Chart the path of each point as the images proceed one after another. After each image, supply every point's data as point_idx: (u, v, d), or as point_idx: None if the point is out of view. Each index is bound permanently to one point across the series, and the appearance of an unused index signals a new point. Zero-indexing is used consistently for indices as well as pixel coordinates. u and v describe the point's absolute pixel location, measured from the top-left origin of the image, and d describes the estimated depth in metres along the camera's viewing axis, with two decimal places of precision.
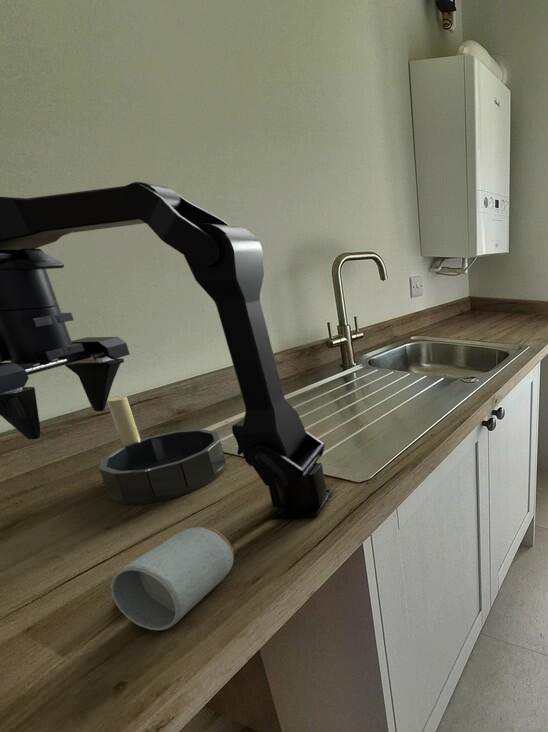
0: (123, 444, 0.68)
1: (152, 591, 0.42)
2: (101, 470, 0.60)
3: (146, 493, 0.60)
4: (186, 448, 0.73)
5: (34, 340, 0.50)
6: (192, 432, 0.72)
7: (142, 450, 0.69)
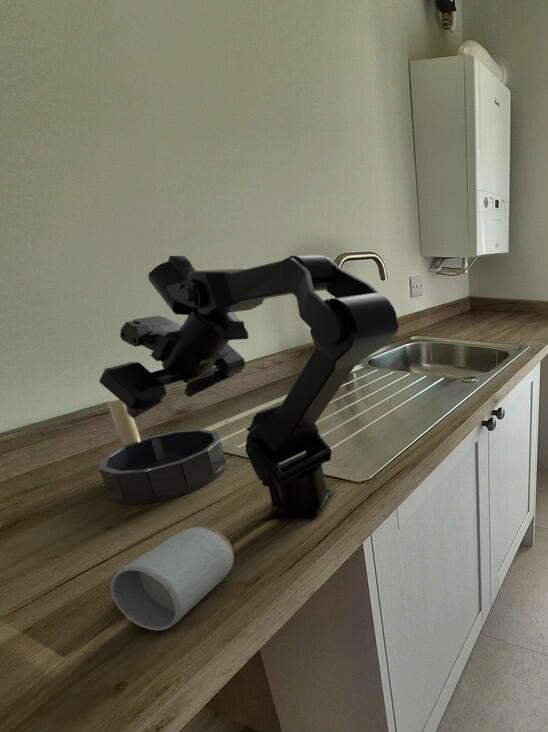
0: (123, 444, 0.68)
1: (152, 591, 0.42)
2: (101, 470, 0.60)
3: (146, 493, 0.60)
4: (186, 448, 0.73)
5: (189, 367, 0.59)
6: (192, 432, 0.72)
7: (142, 450, 0.69)
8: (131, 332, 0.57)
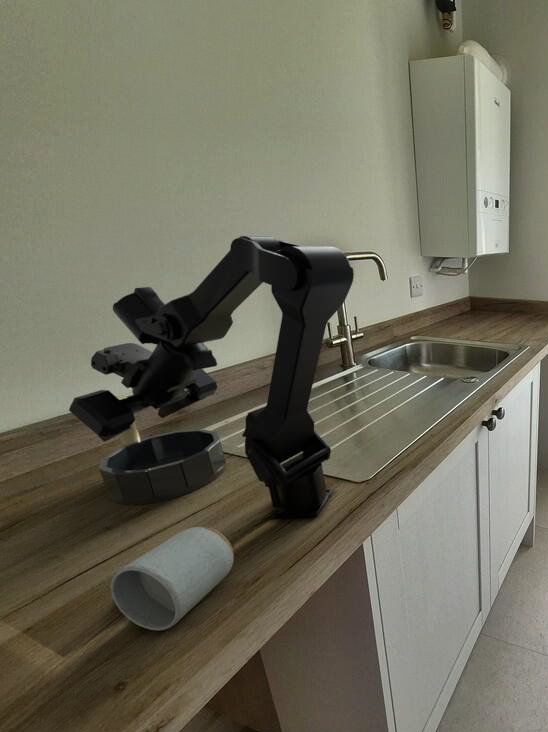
0: (123, 444, 0.68)
1: (152, 591, 0.42)
2: (101, 470, 0.60)
3: (146, 493, 0.60)
4: (186, 448, 0.73)
5: (158, 394, 0.62)
6: (192, 432, 0.72)
7: (142, 450, 0.69)
8: (101, 361, 0.59)
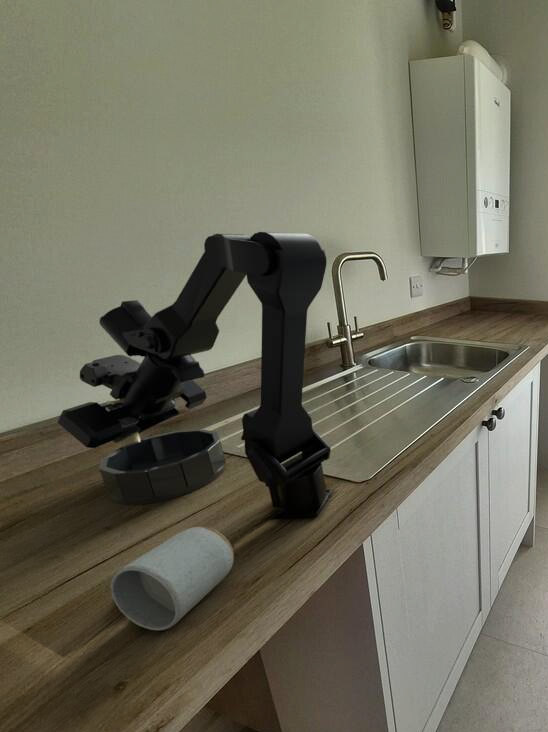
0: (123, 444, 0.68)
1: (152, 591, 0.42)
2: (101, 470, 0.60)
3: (146, 493, 0.60)
4: (186, 448, 0.73)
5: (146, 405, 0.63)
6: (192, 432, 0.72)
7: (142, 450, 0.69)
8: (89, 374, 0.60)
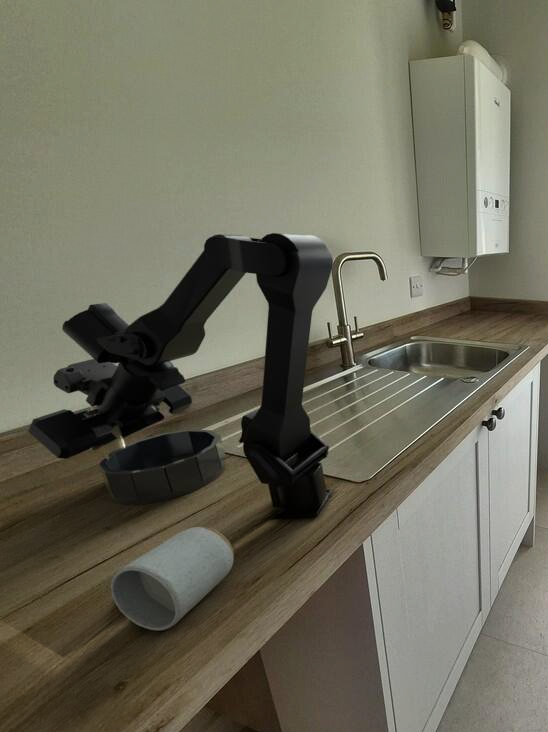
0: (109, 450, 0.65)
1: (152, 591, 0.42)
2: (108, 473, 0.59)
3: (163, 490, 0.61)
4: (174, 450, 0.72)
5: (123, 413, 0.60)
6: (181, 433, 0.72)
7: (130, 455, 0.67)
8: (63, 380, 0.57)
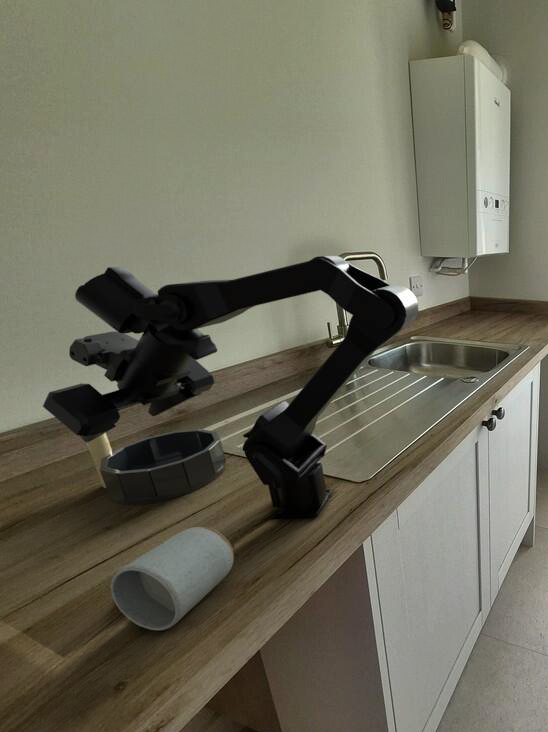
0: (98, 458, 0.63)
1: (152, 591, 0.42)
2: (121, 474, 0.59)
3: (181, 484, 0.62)
4: (160, 453, 0.71)
5: (146, 388, 0.55)
6: (167, 435, 0.71)
7: (120, 461, 0.65)
8: (81, 351, 0.52)
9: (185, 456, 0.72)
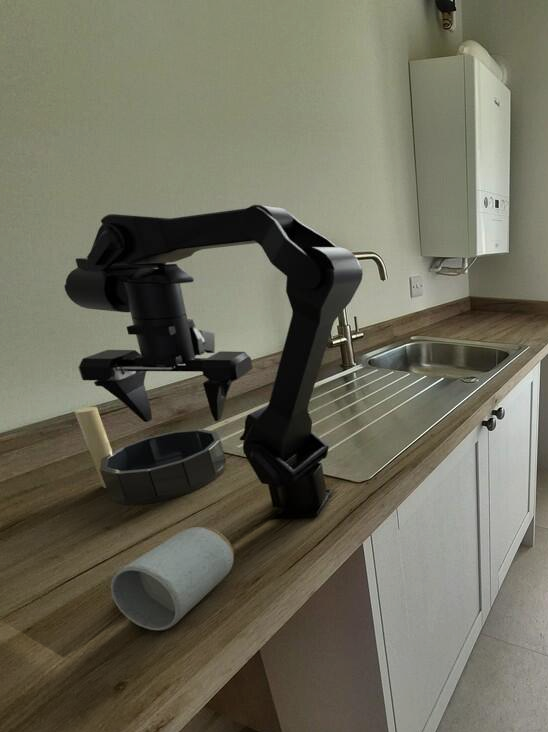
0: (98, 458, 0.63)
1: (152, 591, 0.42)
2: (121, 474, 0.59)
3: (181, 484, 0.62)
4: (160, 453, 0.71)
5: None
6: (167, 435, 0.71)
7: (120, 461, 0.65)
8: None
9: (185, 456, 0.72)
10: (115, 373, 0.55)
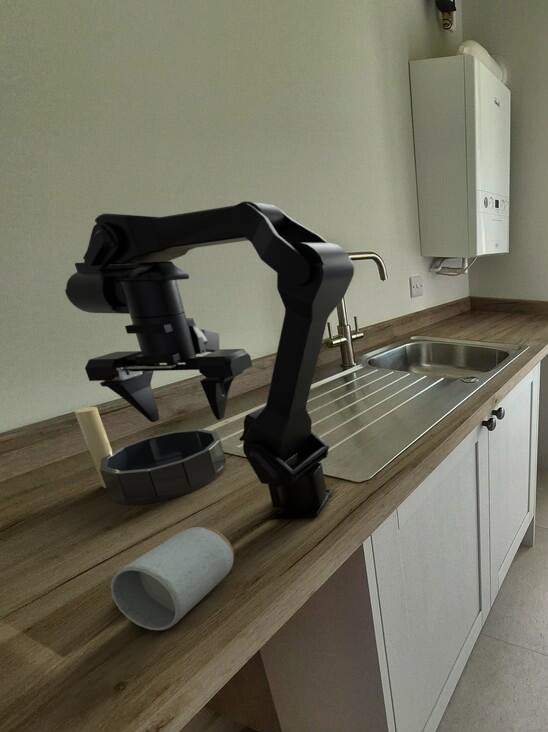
0: (98, 458, 0.63)
1: (152, 591, 0.42)
2: (121, 474, 0.59)
3: (181, 484, 0.62)
4: (160, 453, 0.71)
5: (139, 344, 0.55)
6: (167, 435, 0.71)
7: (120, 461, 0.65)
8: None
9: (185, 456, 0.72)
10: (119, 373, 0.56)
